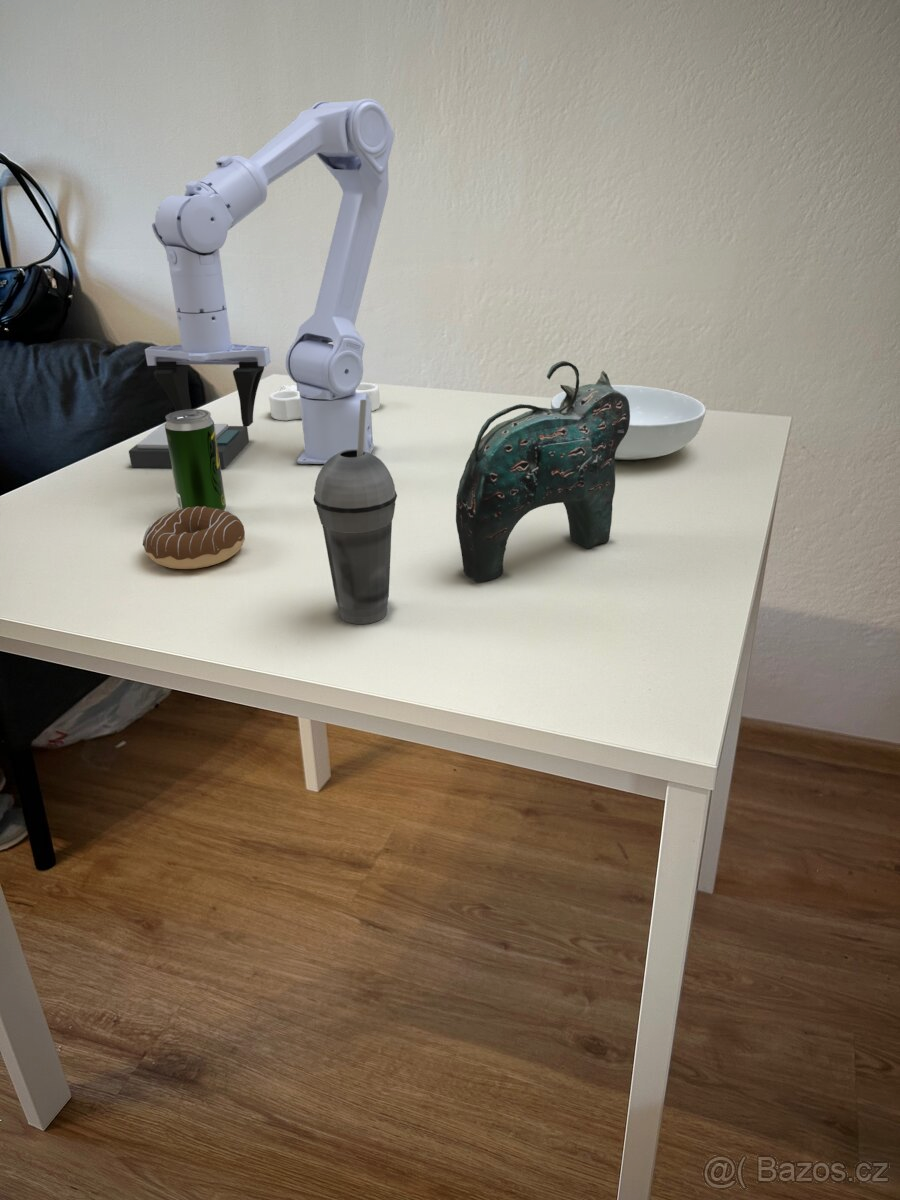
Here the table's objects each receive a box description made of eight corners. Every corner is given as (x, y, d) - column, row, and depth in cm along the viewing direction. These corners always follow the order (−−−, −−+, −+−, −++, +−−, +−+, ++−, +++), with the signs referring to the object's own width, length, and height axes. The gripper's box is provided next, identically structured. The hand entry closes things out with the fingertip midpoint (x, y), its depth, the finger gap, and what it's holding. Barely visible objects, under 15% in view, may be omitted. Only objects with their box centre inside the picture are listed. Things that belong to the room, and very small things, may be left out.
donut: (268, 550, 93) (263, 516, 91) (184, 585, 86) (178, 548, 84) (208, 526, 99) (203, 493, 97) (126, 556, 92) (119, 522, 90)
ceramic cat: (592, 525, 98) (606, 346, 88) (633, 545, 93) (651, 357, 84) (447, 569, 88) (444, 373, 79) (484, 593, 84) (486, 388, 74)
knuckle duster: (364, 393, 151) (389, 414, 139) (262, 403, 146) (278, 426, 134) (363, 373, 150) (388, 393, 138) (260, 383, 144) (275, 405, 132)
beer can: (189, 526, 99) (171, 424, 93) (174, 512, 103) (157, 413, 97) (233, 516, 102) (219, 416, 96) (217, 502, 106) (203, 406, 100)
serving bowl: (693, 482, 110) (700, 430, 107) (533, 467, 116) (535, 416, 113) (704, 435, 127) (711, 389, 124) (565, 424, 133) (567, 379, 130)
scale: (249, 441, 127) (246, 421, 126) (224, 469, 117) (221, 447, 115) (163, 440, 128) (160, 421, 127) (131, 467, 118) (127, 446, 116)
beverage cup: (325, 596, 83) (307, 390, 74) (400, 592, 84) (391, 387, 75) (322, 633, 77) (301, 414, 68) (403, 629, 78) (394, 410, 68)
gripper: (127, 315, 97) (148, 432, 103) (253, 315, 96) (266, 434, 102) (150, 304, 103) (169, 416, 110) (269, 304, 102) (281, 417, 109)
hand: (217, 423), depth 106 cm, fingers open, 7 cm apart
